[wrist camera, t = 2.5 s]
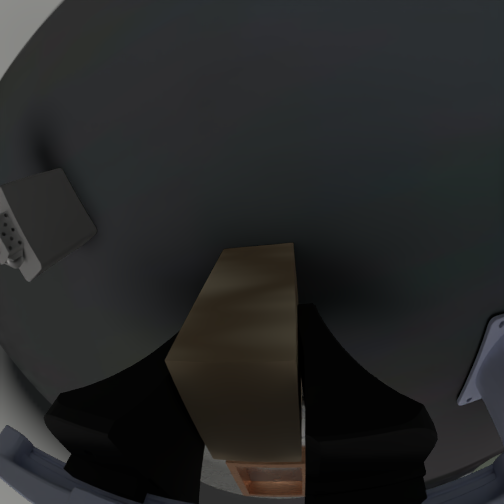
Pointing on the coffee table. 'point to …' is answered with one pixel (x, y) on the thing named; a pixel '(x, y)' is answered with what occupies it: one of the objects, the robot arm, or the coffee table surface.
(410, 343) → the coffee table surface
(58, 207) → the lighter
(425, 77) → the coffee table surface
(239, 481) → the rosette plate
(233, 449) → the wood grain block
